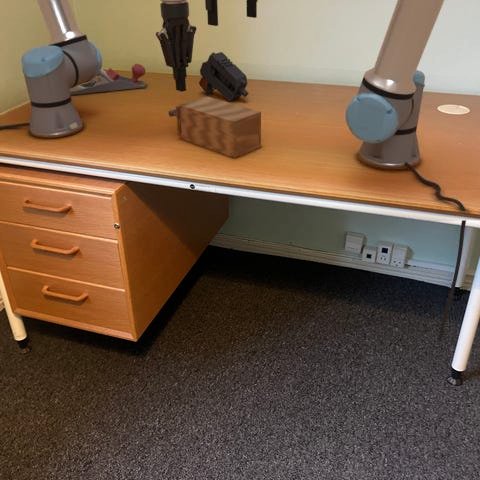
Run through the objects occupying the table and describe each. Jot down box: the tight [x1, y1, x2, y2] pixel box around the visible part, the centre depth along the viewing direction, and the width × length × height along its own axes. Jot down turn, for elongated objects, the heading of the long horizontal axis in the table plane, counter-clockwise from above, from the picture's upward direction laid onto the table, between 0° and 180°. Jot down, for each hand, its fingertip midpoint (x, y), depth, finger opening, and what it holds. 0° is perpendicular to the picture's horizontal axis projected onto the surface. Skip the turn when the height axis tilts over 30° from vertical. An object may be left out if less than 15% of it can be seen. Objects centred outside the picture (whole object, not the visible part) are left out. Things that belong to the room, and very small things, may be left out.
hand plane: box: [70, 63, 146, 96], centre depth 194 cm, size 7×31×15 cm, turn 107°
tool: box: [198, 51, 249, 102], centre depth 185 cm, size 6×19×15 cm, turn 51°
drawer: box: [167, 104, 181, 135], centre depth 151 cm, size 26×9×8 cm, turn 47°
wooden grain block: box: [178, 96, 262, 159], centre depth 148 cm, size 21×10×10 cm, turn 47°
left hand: (181, 90), depth 153 cm, fingers closed
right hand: (232, 21), depth 130 cm, fingers open, 13 cm apart
